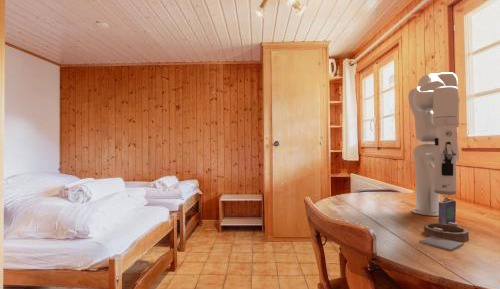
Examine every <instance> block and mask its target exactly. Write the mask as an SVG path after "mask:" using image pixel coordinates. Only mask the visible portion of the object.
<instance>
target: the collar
mask: <svg viewBox="0 0 500 289" xmlns="http://www.w3.org/2000/svg"><path fill="white" fill-rule="evenodd" d="M458 224H459V223H457V222H455V223H452V222H449V223H448V224H440V223H439V222H438V223H437V222H434V223H431V222H428V223H426V224H424V226H423V228H424V230H423V232H424V234H425V235H427V236H428V237H431V236H435V237H439V238H443V239H448V240H452V241H456V242H466V241H468V240H470V238H469V234H470V233H469V230H468V229H467V228H464V227H463V226H462V227H461V226H459V225H458ZM445 231H446V232H445ZM467 239H468V240H467Z"/></svg>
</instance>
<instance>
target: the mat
mask: <svg viewBox="0 0 500 289" xmlns="http://www.w3.org/2000/svg"><path fill="white" fill-rule="evenodd" d="M418 243H419V244H422V245H427V246H429V247H433V248H437V249H441V250H444V251H449V252H453V251H454V250H457V249H460V247H463V246H464V242H461V241H452V240H448V239H443V238H439V237H435V236H431V237H430V236H428V237H426V238H423V239H421V240H419V241H418Z"/></svg>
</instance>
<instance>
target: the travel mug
mask: <svg viewBox="0 0 500 289" xmlns="http://www.w3.org/2000/svg"><path fill="white" fill-rule="evenodd" d="M434 144H435V148H434V165H433V167H434V187H435V188H434V192H435V193H438V194H440V195H444V196H449V195H450V196H453V195H456V194H457V164H456V156H454V155H455V154H453V151H452V156H453V176H443V175H442V164H443V160H442V155H440V153H439V145H438V138H435V143H434ZM444 154H447V152H446V153H444Z"/></svg>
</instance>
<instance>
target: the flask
mask: <svg viewBox="0 0 500 289" xmlns="http://www.w3.org/2000/svg"><path fill="white" fill-rule="evenodd" d="M442 196H443V200H440V202H439V216H438V223H440V224H448V223H449V222H452V223H456V218H457V217H456V214H457V211H456V210H457V201H456V200H455V199H454V198H453V199H452V198H450V196H449V195H442Z"/></svg>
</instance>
